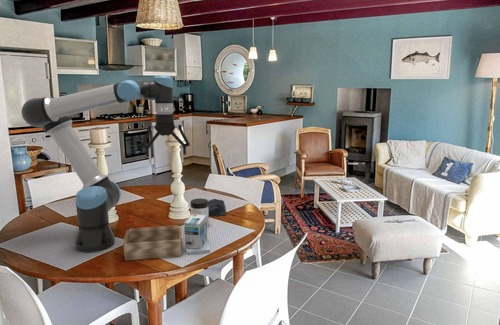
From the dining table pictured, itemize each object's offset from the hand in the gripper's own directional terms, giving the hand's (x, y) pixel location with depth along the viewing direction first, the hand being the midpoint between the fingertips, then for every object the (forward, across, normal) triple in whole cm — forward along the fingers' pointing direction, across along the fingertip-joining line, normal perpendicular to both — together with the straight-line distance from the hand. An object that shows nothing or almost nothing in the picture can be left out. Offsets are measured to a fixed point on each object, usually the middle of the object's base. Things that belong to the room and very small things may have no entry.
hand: (166, 162), depth 167 cm
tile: (+32, +11, -18) cm, 38 cm away
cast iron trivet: (+32, +22, +28) cm, 48 cm away
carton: (+32, -6, -18) cm, 37 cm away
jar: (+32, +14, +6) cm, 35 cm away
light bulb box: (+31, +11, -18) cm, 37 cm away
